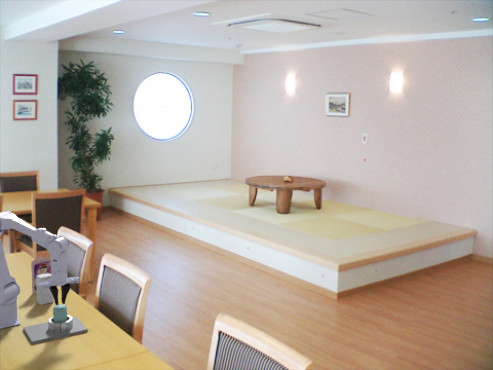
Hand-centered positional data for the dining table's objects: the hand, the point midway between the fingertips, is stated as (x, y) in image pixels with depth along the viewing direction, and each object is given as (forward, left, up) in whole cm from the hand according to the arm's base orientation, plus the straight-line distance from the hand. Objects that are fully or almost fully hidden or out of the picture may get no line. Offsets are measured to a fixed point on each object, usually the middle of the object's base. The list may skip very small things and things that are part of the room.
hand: (60, 303), depth 199 cm
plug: (0, 0, -9) cm, 9 cm away
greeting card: (+4, +48, -11) cm, 49 cm away
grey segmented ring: (0, 0, -9) cm, 9 cm away
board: (-2, 0, -10) cm, 11 cm away
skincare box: (+2, +31, -11) cm, 33 cm away
